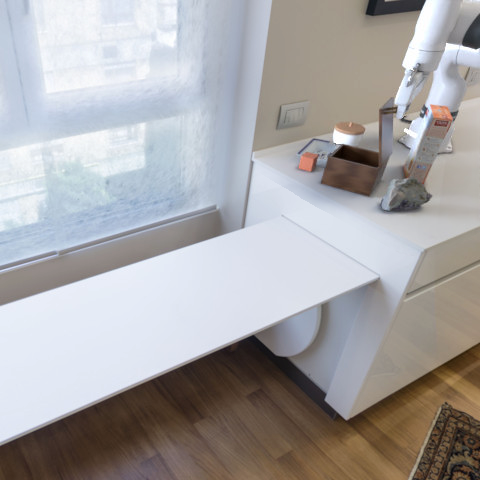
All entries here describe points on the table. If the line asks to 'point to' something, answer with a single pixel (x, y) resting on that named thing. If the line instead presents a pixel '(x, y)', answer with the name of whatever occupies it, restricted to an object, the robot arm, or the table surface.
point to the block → (308, 161)
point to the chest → (353, 169)
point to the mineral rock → (405, 195)
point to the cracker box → (428, 142)
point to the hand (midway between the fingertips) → (401, 114)
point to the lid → (386, 130)
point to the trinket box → (348, 133)
